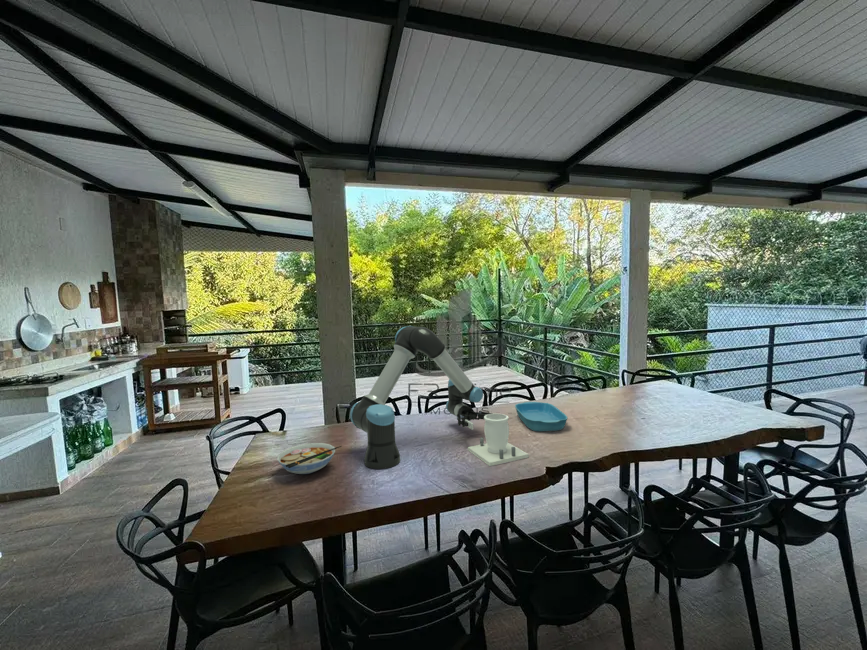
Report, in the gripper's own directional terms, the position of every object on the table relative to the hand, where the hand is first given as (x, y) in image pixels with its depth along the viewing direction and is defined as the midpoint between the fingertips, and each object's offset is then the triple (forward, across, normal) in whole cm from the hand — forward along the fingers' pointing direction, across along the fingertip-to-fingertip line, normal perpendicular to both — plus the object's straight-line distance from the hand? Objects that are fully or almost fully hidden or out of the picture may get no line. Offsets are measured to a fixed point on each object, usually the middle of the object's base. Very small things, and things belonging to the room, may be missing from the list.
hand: (485, 424), depth 176 cm
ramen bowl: (-12, +78, -11) cm, 79 cm away
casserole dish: (-16, -43, -11) cm, 47 cm away
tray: (+9, 0, -10) cm, 14 cm away
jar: (+9, 0, -9) cm, 13 cm away
